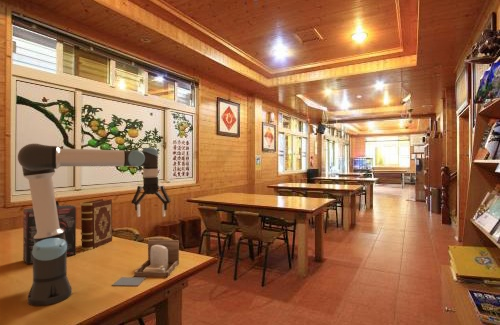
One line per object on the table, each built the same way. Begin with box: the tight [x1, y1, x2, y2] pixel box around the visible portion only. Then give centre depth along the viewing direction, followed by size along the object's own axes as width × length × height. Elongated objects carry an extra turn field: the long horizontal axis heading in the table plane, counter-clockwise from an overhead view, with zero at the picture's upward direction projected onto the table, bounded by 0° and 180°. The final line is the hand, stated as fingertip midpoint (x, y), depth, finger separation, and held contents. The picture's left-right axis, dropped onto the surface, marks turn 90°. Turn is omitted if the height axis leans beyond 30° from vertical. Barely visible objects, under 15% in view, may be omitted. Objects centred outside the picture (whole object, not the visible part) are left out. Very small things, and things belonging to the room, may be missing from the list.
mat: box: [111, 276, 147, 287], centre depth 138 cm, size 9×12×1 cm
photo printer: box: [150, 245, 169, 271], centre depth 155 cm, size 10×4×12 cm, turn 61°
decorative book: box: [79, 198, 113, 251], centre depth 200 cm, size 22×8×30 cm, turn 168°
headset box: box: [22, 200, 77, 265], centre depth 174 cm, size 25×12×33 cm, turn 136°
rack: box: [133, 239, 180, 278], centre depth 153 cm, size 19×17×13 cm
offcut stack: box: [142, 265, 167, 273], centre depth 148 cm, size 7×10×4 cm, turn 88°
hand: (151, 216), depth 157 cm, fingers open, 13 cm apart
